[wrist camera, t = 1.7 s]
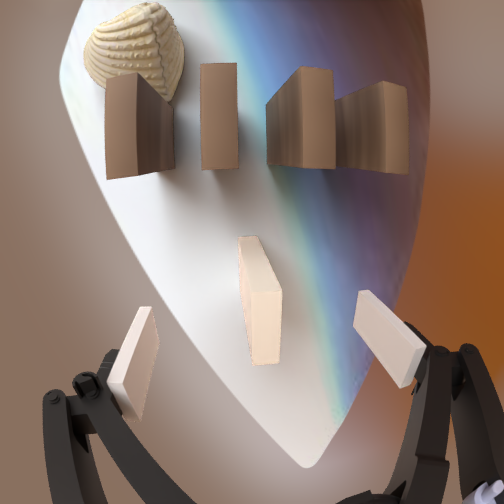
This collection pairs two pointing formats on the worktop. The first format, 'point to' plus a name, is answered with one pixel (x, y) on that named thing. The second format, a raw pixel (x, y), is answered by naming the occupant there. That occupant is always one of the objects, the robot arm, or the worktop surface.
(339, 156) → the domino
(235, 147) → the domino
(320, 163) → the domino
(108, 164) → the domino
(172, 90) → the seashell
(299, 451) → the worktop surface
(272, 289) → the domino
